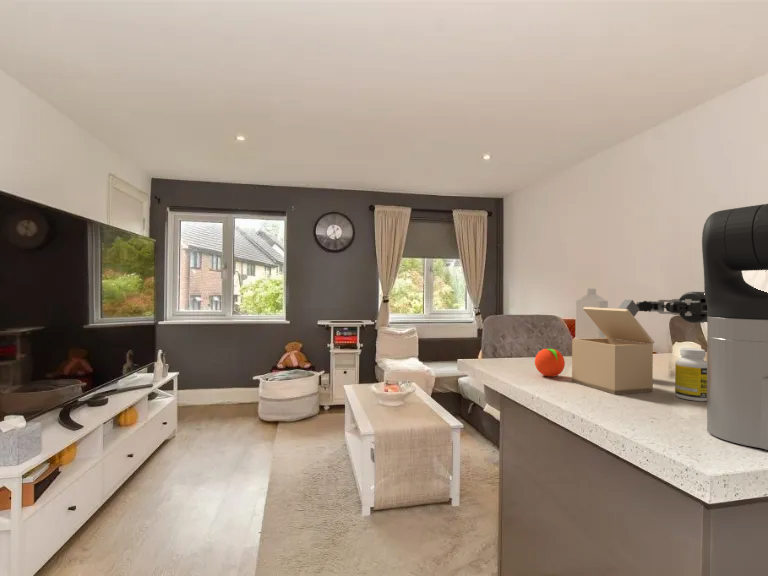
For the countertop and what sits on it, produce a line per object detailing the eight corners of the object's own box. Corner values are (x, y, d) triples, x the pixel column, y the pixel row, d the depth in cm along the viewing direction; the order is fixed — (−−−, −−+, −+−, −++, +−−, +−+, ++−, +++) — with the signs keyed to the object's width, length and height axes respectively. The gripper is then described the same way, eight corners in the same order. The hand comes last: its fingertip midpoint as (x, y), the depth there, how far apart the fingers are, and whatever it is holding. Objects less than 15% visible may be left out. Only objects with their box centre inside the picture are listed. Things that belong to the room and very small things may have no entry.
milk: (607, 372, 106) (608, 288, 106) (599, 375, 102) (600, 288, 102) (583, 368, 111) (584, 288, 111) (574, 371, 106) (575, 288, 107)
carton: (652, 391, 85) (652, 344, 85) (614, 394, 82) (614, 345, 82) (606, 379, 96) (606, 338, 97) (572, 381, 94) (572, 338, 94)
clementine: (572, 380, 95) (572, 350, 95) (542, 380, 95) (542, 350, 95) (557, 373, 103) (557, 346, 103) (530, 373, 103) (530, 345, 103)
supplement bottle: (705, 403, 76) (705, 351, 76) (671, 397, 80) (671, 348, 80) (712, 399, 80) (712, 349, 80) (679, 393, 84) (679, 346, 84)
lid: (652, 344, 85) (669, 321, 86) (626, 311, 83) (643, 288, 84) (606, 337, 97) (622, 318, 98) (582, 308, 95) (598, 289, 96)
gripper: (738, 325, 91) (683, 325, 87) (676, 320, 105) (627, 321, 100) (738, 291, 91) (683, 291, 87) (677, 291, 105) (627, 291, 100)
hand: (653, 307), depth 93 cm, fingers open, 8 cm apart
